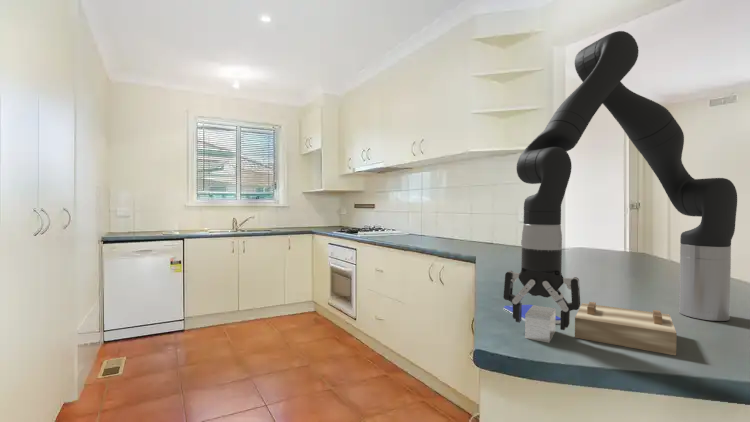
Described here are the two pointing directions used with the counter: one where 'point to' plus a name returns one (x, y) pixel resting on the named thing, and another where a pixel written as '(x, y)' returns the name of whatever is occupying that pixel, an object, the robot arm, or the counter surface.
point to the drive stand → (626, 328)
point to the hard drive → (524, 311)
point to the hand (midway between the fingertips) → (539, 325)
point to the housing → (540, 323)
